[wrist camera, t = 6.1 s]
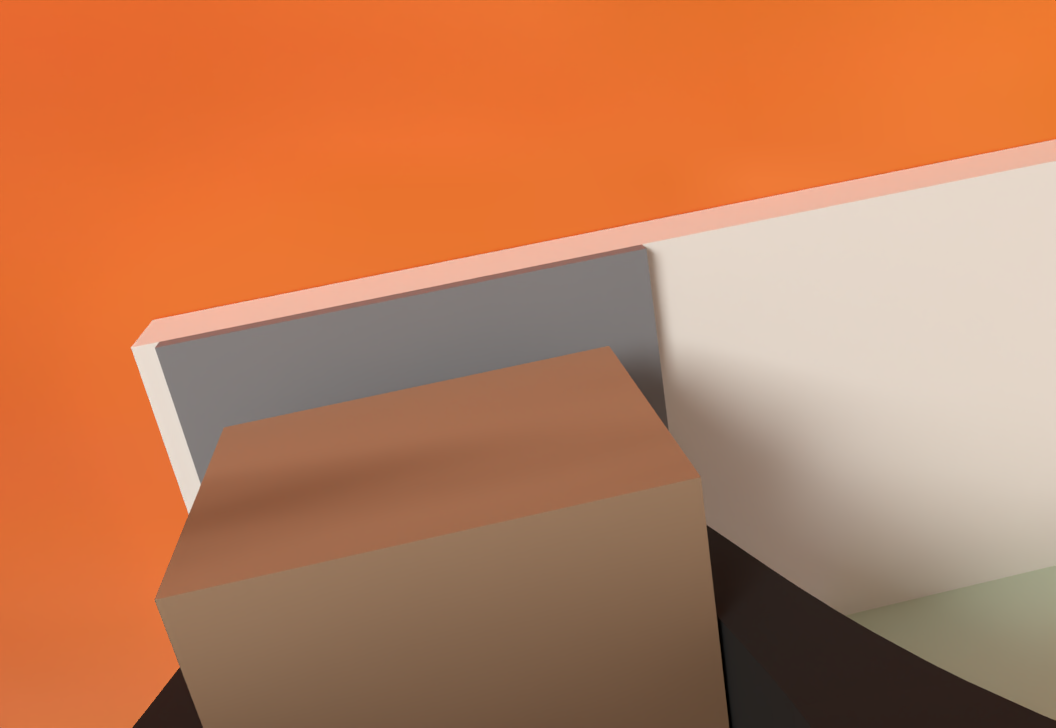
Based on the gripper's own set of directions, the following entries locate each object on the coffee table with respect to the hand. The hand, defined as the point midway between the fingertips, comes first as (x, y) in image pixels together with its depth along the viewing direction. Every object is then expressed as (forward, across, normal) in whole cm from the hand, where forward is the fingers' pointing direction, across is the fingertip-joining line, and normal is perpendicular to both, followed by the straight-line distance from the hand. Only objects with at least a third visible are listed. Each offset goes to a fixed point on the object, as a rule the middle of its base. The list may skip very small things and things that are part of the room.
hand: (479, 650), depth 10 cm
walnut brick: (+1, 0, 0) cm, 1 cm away
